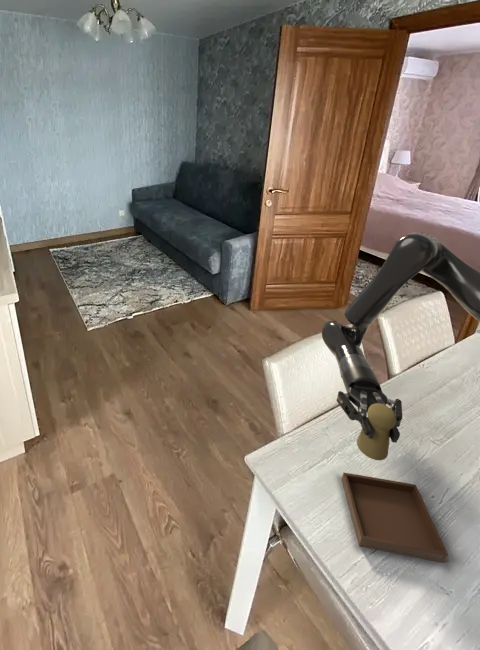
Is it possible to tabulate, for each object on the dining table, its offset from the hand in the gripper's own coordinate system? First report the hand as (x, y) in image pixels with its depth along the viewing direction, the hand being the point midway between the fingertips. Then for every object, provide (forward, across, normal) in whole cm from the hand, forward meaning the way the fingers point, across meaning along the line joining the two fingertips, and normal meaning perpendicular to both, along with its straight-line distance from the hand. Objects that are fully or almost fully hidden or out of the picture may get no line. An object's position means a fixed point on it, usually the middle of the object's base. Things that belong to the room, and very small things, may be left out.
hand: (383, 437), depth 70 cm
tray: (+4, +3, +18) cm, 18 cm away
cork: (-3, 0, +7) cm, 7 cm away
